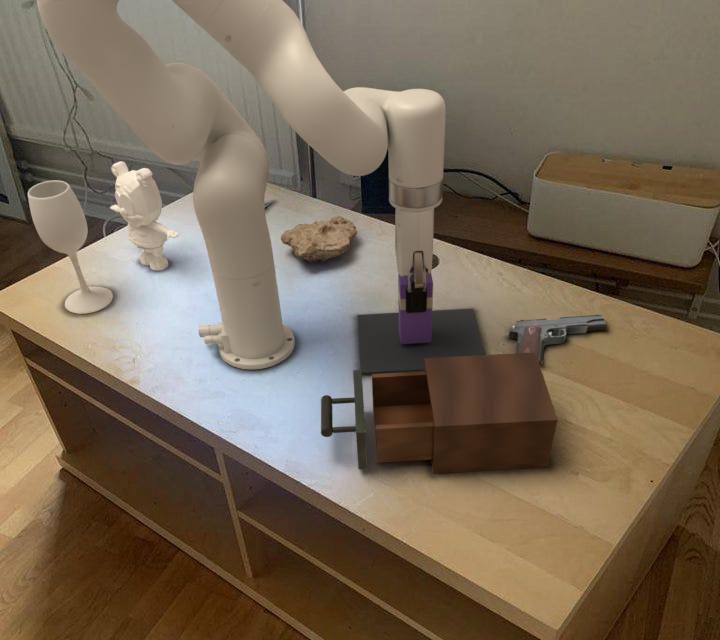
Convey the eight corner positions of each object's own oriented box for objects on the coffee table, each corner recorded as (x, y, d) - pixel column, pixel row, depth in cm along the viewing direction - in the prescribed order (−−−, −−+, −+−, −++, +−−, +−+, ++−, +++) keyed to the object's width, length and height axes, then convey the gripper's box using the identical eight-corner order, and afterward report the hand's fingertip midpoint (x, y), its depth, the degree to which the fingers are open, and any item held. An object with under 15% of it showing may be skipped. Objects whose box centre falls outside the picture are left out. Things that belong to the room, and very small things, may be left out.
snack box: (400, 344, 117) (400, 285, 109) (398, 328, 120) (397, 269, 112) (431, 342, 117) (433, 283, 109) (428, 326, 120) (430, 267, 112)
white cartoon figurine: (171, 289, 134) (144, 187, 120) (107, 255, 143) (75, 157, 129) (202, 271, 138) (179, 171, 124) (138, 240, 147) (110, 143, 133)
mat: (360, 375, 114) (360, 372, 114) (357, 317, 125) (357, 314, 125) (486, 368, 114) (487, 365, 114) (472, 311, 125) (472, 308, 125)
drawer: (323, 471, 99) (319, 434, 94) (323, 408, 108) (319, 371, 103) (464, 463, 99) (468, 426, 94) (452, 401, 108) (455, 364, 103)
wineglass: (55, 309, 131) (9, 197, 116) (84, 284, 136) (44, 174, 121) (94, 318, 128) (52, 204, 113) (122, 292, 134) (86, 181, 118)
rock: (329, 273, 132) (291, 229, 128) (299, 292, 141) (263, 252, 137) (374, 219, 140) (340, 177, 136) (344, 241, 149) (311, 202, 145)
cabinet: (432, 473, 99) (435, 426, 93) (422, 405, 109) (424, 358, 102) (547, 467, 99) (557, 419, 93) (527, 399, 109) (535, 352, 102)
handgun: (514, 369, 114) (515, 359, 112) (499, 328, 121) (500, 319, 120) (622, 362, 114) (625, 352, 113) (600, 322, 122) (603, 313, 121)
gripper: (385, 165, 107) (387, 274, 120) (393, 220, 95) (394, 335, 108) (436, 161, 106) (432, 272, 120) (449, 216, 95) (444, 332, 108)
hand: (414, 300), depth 114 cm, fingers closed on snack box, 4 cm apart
